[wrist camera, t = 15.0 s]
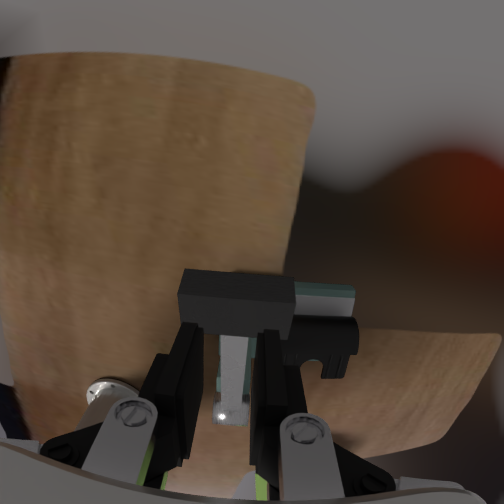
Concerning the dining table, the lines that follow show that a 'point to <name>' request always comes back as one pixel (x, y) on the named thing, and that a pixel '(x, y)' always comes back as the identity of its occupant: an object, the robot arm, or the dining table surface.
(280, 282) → the press lever
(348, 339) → the end cap
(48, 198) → the dining table surface
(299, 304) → the press frame
